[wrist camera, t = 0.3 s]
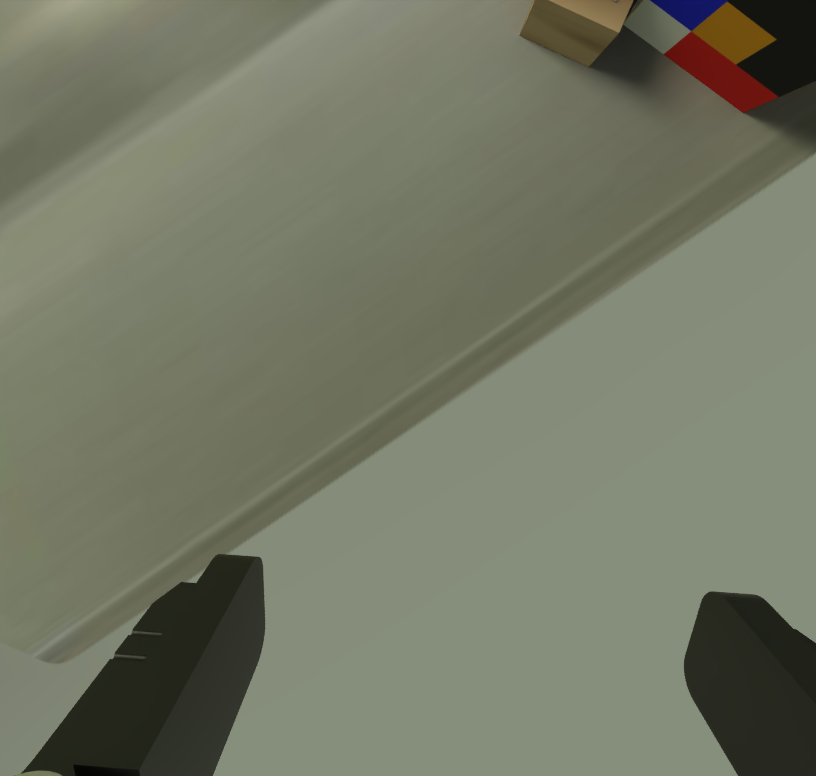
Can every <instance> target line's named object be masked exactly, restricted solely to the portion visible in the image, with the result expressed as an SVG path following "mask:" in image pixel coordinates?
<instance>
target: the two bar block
mask: <svg viewBox="0 0 816 776" xmlns="http://www.w3.org/2000/svg"><path fill="white" fill-rule="evenodd" d="M633 1H634V0H533V2H532V5H531V8H530V10H529V13H528V15H527V18H526V20H525V23H524V25H523V28H522V30H521V33H520V36H521V37H524V38H526V39H528V40H530V41H532V42H535V43H537V44H539V45H541V46H543V47H546V48H548V49H550V50H552V51H554V52H557V53H559V54H561V55H563V56H565V57H568V58H570V59H572V60H574V61H576V62H579V63H581V64H583V65H585V66H587V67H589V66H590V65H591V64H592V63H593V62H594V61H595V60H596V58H597V57H598V56H599V55H600V54H601V53H602V52H603V51H604V49H605V48H606V47H607V46H608V45H609V44H610V43H611V41H612V40H613V39H614V38H615V37H616V36H617V35H618V34H619V32H620V30H621V27H622V25H623V23H624V21H625V19H626V16H627V14H628V12H629V10H630V7H631V5H632V3H633Z"/></svg>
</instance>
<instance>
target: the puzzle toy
mask: <svg viewBox="0 0 816 776" xmlns="http://www.w3.org/2000/svg"><path fill="white" fill-rule="evenodd" d="M623 25H624V26H626V27H627V28H628V29H630V30H631V31H633V32H634V33H635V34H637V35H638V36H639V37H641V38H642V39H643V40H645V41H646V42H648V43H649V44H650V45H652V46H653V47H654V48H656V49H657V50H658V51H660V52H661V53H662V54H664V55H665V56H667V57H668V58H669V59H671V60H672V61H673V62H675V63H676V64H677V65H679V66H680V67H681V68H683V69H684V70H686V71H687V72H688V73H690V74H691V75H692V76H694V77H695V78H696V79H698V80H699V81H700V82H702V83H703V84H705V85H706V86H707V87H709V88H710V89H711V90H713V91H714V92H715V93H717V94H718V95H719V96H721V97H722V98H724V99H725V100H726V101H728V102H729V103H730V104H732V105H733V106H734V107H736V108H737V109H739V110H740V111H741V112H743V113H744V112H746V111H748V110H750V109H753V108H755V107H757V106H759V105H762V104H764V103H766V102H769V101H771V100H773V99H775V98H778V97H780V96H782V95H784V94H787V93H789V92H791V91H793V90H796V89H798V88H800V87H803V86H805V85H807V84H809V83H812V82H814V81H816V0H637V2H636V3H635V5H634V7H633V8H632V10H631V11H630V13H629V15H628V16H627V18H626V19H625V21H624V23H623Z"/></svg>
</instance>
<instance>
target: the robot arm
mask: <svg viewBox="0 0 816 776" xmlns="http://www.w3.org/2000/svg"><path fill="white" fill-rule="evenodd" d="M264 634H265V607H264V582H263V564H262V560H261V558H260V557H252V556H239V555H226V554H218V555H216V556H215V557H214V558H213V560H212V561H211V562H210V564H209V565H208V567H207V568H206V570H205V571H204V573H203V574H202V576H201V577H200V578H199V580H198V581H197V583H186V582H181V583H179V584H178V585H177V586H175V587H174V588H173V589H171V590H170V591H169V592H167V593H166V594H165V595H163V596H162V597H160V598H159V599H158V600H156V601H155V602H154V603H153V604H152V605H151V606H150V608H149V609H148V610H147V611H146V613H145V614H144V615H143V617H142V618H141V619H140V621H139V622H138V623H137V625H136V626H135V627H134V628H133V631H132V634H131V635H128V636H127V638H126V639H125V640H124V642H123V643H122V644H121V646H120V647H119V648H118V649H117V651H116V652H115V656H114V658H113V659H110V660H109V661H108V662H107V664H106V665H105V666H104V668H103V669H102V670H101V672H100V673H99V674H98V676H97V677H96V678H95V679H94V681H93V682H92V683H91V685H90V686H89V687H88V689H87V690H86V691H85V693H84V694H83V695H82V697H81V698H80V699H79V700H78V702H77V703H76V704H75V706H74V707H73V708H72V710H71V711H70V712H69V713H68V715H67V716H66V718H65V719H64V720H63V721H62V723H61V724H60V725H59V727H58V728H57V729H56V730H55V732H54V733H53V734H52V736H51V737H50V738H49V740H48V741H47V742H46V744H45V745H44V746H43V747H42V749H41V750H40V752H39V753H38V754H37V755H36V757H35V758H34V759H33V760H32V762H31V763H30V764H29V765H28V766H27V767H26V769H25V770H24V771H23V772H22V773H21V774H18V775H15V776H213V774H214V771H215V769H216V766H217V763H218V761H219V759H220V756H221V754H222V751H223V749H224V746H225V744H226V741H227V738H228V736H229V734H230V731H231V729H232V726H233V723H234V721H235V719H236V716H237V714H238V711H239V709H240V706H241V704H242V701H243V699H244V696H245V694H246V691H247V689H248V686H249V684H250V681H251V679H252V676H253V674H254V671H255V669H256V666H257V663H258V661H259V658H260V654H261V650H262V646H263V641H264ZM684 673H685V679H686V683H687V687H688V689H689V692H690V694H691V697H692V698H693V700H694V702H695V704H696V706H697V707H698V709H699V711H700V712H701V714H702V716H703V717H704V719H705V720H706V722H707V724H708V726H709V727H710V729H711V731H712V732H713V734H714V736H715V737H716V739H717V741H718V742H719V744H720V746H721V748H722V749H723V751H724V753H725V754H726V756H727V758H728V759H729V761H730V763H731V764H732V766H733V768H734V770H735V771H736V773H737V774H738V776H816V643H815V642H813V641H812V640H810V639H809V638H807V637H806V636H805V635H803V634H802V633H800V632H799V631H798V630H796V629H793V628H792V627H791V626H790V625H789V624H788V623H787V622H786V621H785V620H784V619H783V618H782V617H781V616H780V615H779V614H778V613H777V612H776V611H775V610H774V609H773V607H772V606H771V605H770V604H769V603H768V602H767V601H765V600H764V599H763V598H761V597H760V596H757V595H752V594H739V593H726V592H725V593H724V592H708V593H707V594H706V595H705V596H704V597H703V599H702V601H701V604H700V608H699V611H698V615H697V618H696V621H695V625H694V628H693V631H692V634H691V638H690V641H689V645H688V648H687V651H686V655H685V659H684Z"/></svg>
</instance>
